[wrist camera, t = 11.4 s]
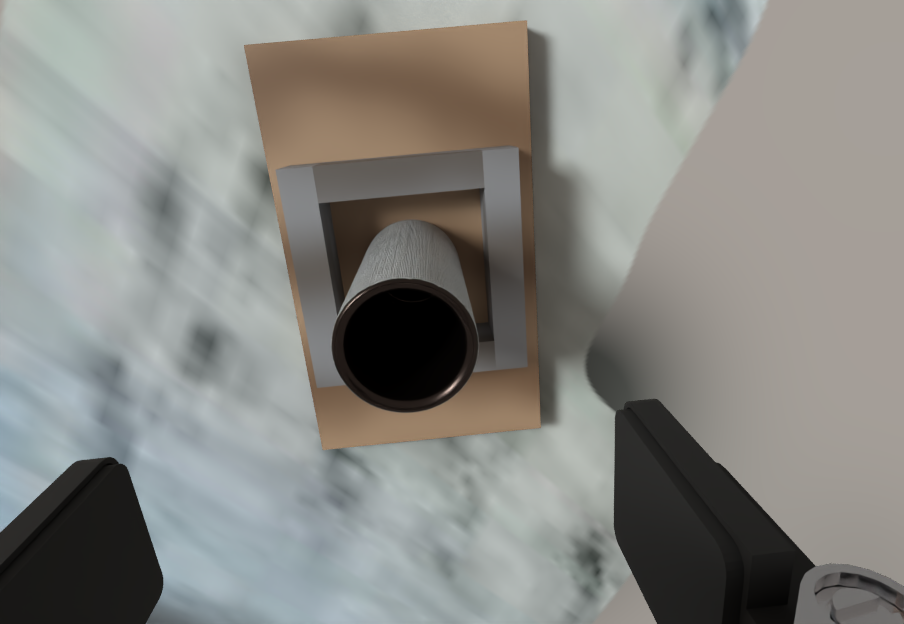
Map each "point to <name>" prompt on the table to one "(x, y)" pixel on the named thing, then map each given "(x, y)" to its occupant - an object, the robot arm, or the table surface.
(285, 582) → the table surface
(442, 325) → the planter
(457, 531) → the table surface
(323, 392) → the socket board
